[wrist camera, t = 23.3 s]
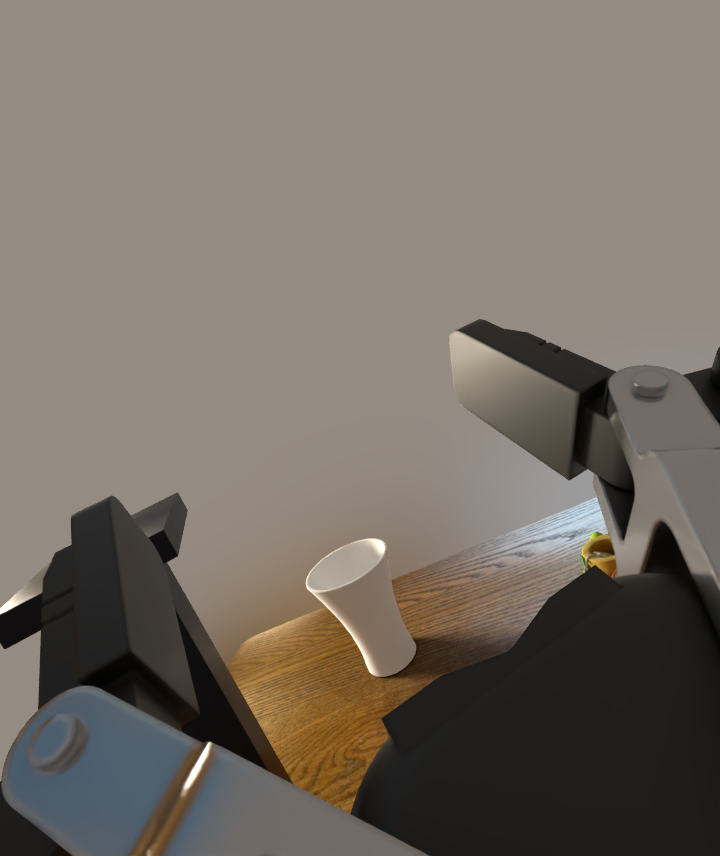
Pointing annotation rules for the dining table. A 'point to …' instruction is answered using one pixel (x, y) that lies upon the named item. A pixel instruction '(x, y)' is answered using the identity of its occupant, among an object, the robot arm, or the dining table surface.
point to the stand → (213, 684)
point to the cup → (365, 603)
